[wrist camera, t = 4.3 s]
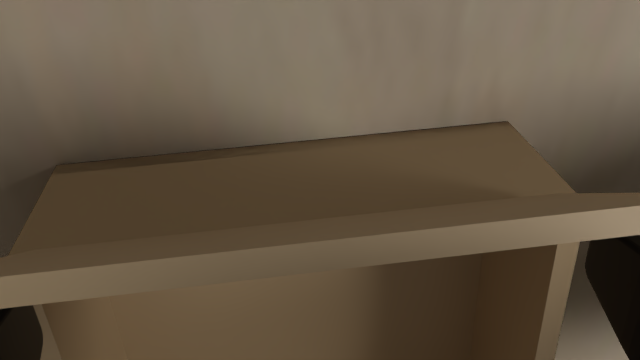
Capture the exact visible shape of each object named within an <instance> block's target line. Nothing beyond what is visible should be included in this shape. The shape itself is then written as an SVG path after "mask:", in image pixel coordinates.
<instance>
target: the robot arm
mask: <svg viewBox="0 0 640 360" xmlns="http://www.w3.org/2000/svg"><path fill="white" fill-rule="evenodd" d="M585 269H586V274H587V277H588V279H589V281H590V283H591V285H592V287H593V289H594V291H595V293H596V295H597V297H598V299H599V301H600V303H601V305H602V307H603V309H604V311H605V313H606V315H607V317H608V319H609V321H610V323H611V325H612V327H613V330H614V332H615V334H616V336H617V338H618V340H619V342H620V344H621V345H622V347H623V349H624V351H625V353H626V355H627V356H628V358H629V360H640V235H633V236H625V237H616V238H607V239H599V240H590V243H589V248H588V252H587V257H586V262H585ZM42 347H43V332H42V328H41V325H40V323H39V320H38V317H37V314H36V312H35V309H34V306H33V305H29V306H21V307H12V308H3V309H0V360H40V359H41V353H42Z"/></svg>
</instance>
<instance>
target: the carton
mask: <svg viewBox="0 0 640 360" xmlns="http://www.w3.org/2000/svg"><path fill="white" fill-rule="evenodd" d="M555 193H576V192H575V191H574V190H573V189H572V188H571V187H570V186H569V185H568V184H567V183H566V182H565V181H564V180H563V179H562V177H561V176H560V175H559V174H558V173H557V172H556V171H555V170H554V169H553V168H552V167H551V166H550V165H549V164H548V163H547V162H546V161H545V160H544V159H543V158H542V157H541V156H540V154H539V153H538V152H537V151H536V150H535V149H534V148H533V147H532V146H531V145H530V144H529V143H528V142H527V141H526V140H525V139H524V138H523V137H522V136H521V135H520V134H519V133H518V132H517V130H516V129H515V128H514V127H513V126H512V125H511V124H510V123H509V122H508V121H507V122H497V123H486V124H476V125H466V126H455V127H445V128H435V129H424V130H414V131H404V132H393V133H383V134H373V135H362V136H352V137H342V138H331V139H321V140H311V141H300V142H290V143H280V144H269V145H259V146H249V147H238V148H228V149H218V150H207V151H197V152H187V153H176V154H166V155H156V156H146V157H135V158H125V159H115V160H104V161H94V162H84V163H73V164H63V165H56V167H55V169H54V171H53V173H52V175H51V177H50V178H49V180H48V182H47V184H46V186H45V188H44V190H43V191H42V193H41V195H40V197H39V199H38V201H37V203H36V205H35V206H34V208H33V210H32V212H31V214H30V216H29V218H28V219H27V221H26V223H25V225H24V227H23V229H22V231H21V232H20V234H19V236H18V238H17V240H16V242H15V244H14V245H13V247H12V249H11V251H10V253H9V255H8V256H10V255H14V254H18V253H23V252H27V251H32V250H38V249H47V248H56V247H65V246H75V245H84V244H93V243H102V242H112V241H121V240H130V239H139V238H149V237H158V236H167V235H176V234H186V233H195V232H204V231H213V230H222V229H232V228H241V227H250V226H259V225H269V224H278V223H287V222H296V221H306V220H315V219H324V218H333V217H343V216H352V215H361V214H370V213H380V212H389V211H398V210H407V209H416V208H426V207H435V206H444V205H453V204H463V203H472V202H481V201H490V200H500V199H509V198H518V197H527V196H537V195H546V194H555ZM579 244H580V242H573V243H564V244H556V245H547V246H538V247H530V248H521V249H512V250H504V251H495V252H487V253H478V254H469V255H461V256H452V257H443V258H435V259H426V260H418V261H409V262H400V263H392V264H383V265H374V266H366V267H357V268H348V269H340V270H331V271H323V272H314V273H305V274H297V275H288V276H279V277H271V278H262V279H254V280H245V281H236V282H228V283H219V284H210V285H202V286H193V287H184V288H176V289H167V290H159V291H150V292H141V293H133V294H124V295H115V296H107V297H98V298H90V299H81V300H72V301H64V302H55V303H46V304H38V305H33V306H34V309H35V312H36V314H37V317H38V320H39V323H40V325H41V328H42V332H43V347H42V353H41V359H40V360H554V358H555V354H556V349H557V345H558V340H559V336H560V331H561V326H562V322H563V317H564V313H565V308H566V303H567V299H568V294H569V290H570V285H571V281H572V276H573V271H574V267H575V262H576V258H577V253H578V248H579Z"/></svg>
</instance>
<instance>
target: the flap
mask: <svg viewBox="0 0 640 360" xmlns="http://www.w3.org/2000/svg"><path fill="white" fill-rule="evenodd" d="M633 235H640V193H555V194H546V195H537V196H527V197H518V198H509V199H500V200H490V201H481V202H472V203H463V204H453V205H444V206H435V207H426V208H416V209H407V210H398V211H389V212H380V213H370V214H361V215H352V216H343V217H333V218H324V219H315V220H306V221H296V222H287V223H278V224H269V225H259V226H250V227H241V228H232V229H222V230H213V231H204V232H195V233H186V234H176V235H167V236H158V237H149V238H139V239H130V240H121V241H112V242H102V243H93V244H84V245H75V246H65V247H56V248H47V249H38V250H32V251H27V252H23V253H18V254H14V255H10V256H5V257H1V258H0V309H3V308H12V307H21V306H29V305H38V304H46V303H55V302H64V301H72V300H81V299H90V298H98V297H107V296H115V295H124V294H133V293H141V292H150V291H159V290H167V289H176V288H184V287H193V286H202V285H210V284H219V283H228V282H236V281H245V280H254V279H262V278H271V277H279V276H288V275H297V274H305V273H314V272H323V271H331V270H340V269H348V268H357V267H366V266H374V265H383V264H392V263H400V262H409V261H418V260H426V259H435V258H443V257H452V256H461V255H469V254H478V253H487V252H495V251H504V250H512V249H521V248H530V247H538V246H547V245H556V244H564V243H573V242H582V241H590V240H599V239H607V238H616V237H625V236H633Z"/></svg>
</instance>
